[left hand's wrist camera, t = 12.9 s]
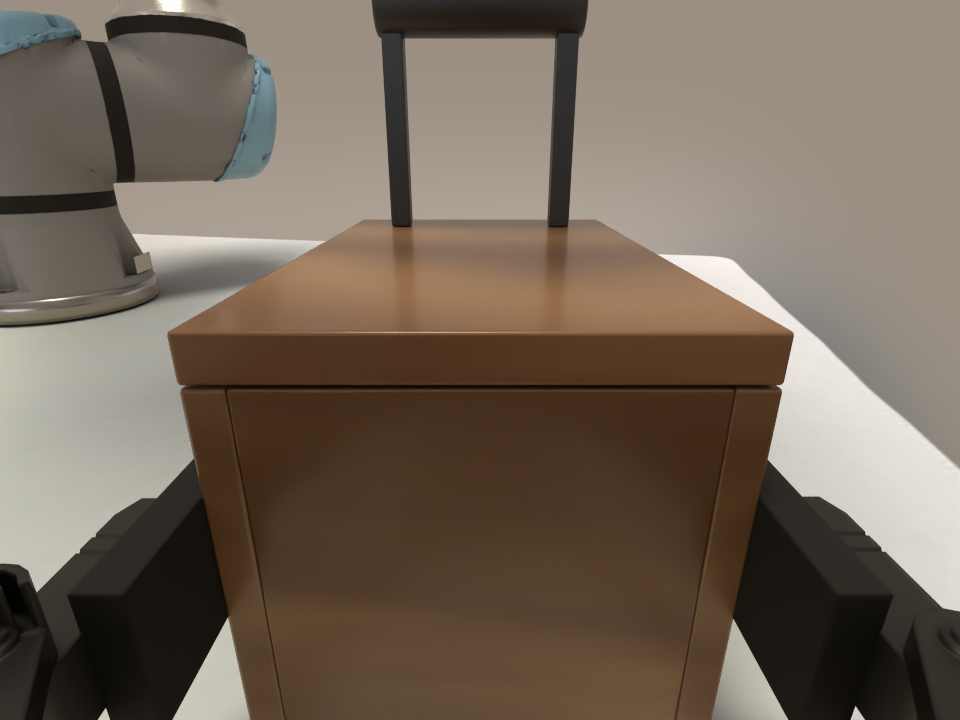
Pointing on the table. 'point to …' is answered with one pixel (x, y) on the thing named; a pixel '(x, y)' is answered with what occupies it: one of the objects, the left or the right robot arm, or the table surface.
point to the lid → (480, 274)
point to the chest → (480, 544)
